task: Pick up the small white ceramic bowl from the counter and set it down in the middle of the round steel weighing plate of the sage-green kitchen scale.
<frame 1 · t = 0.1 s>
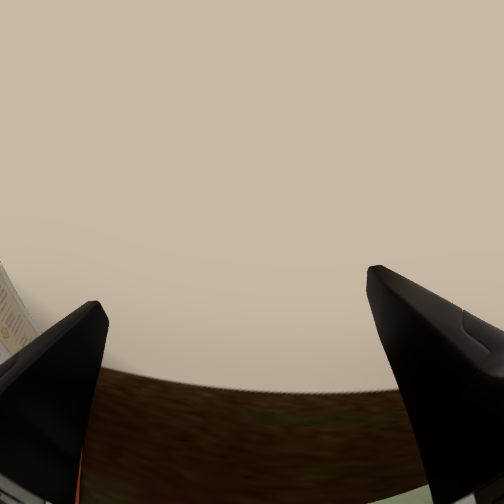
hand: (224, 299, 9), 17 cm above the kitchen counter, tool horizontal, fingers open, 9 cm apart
cracker box: (62, 451, 18), on the kitchen counter
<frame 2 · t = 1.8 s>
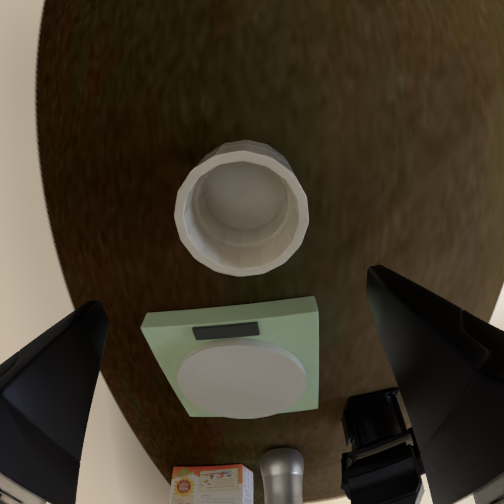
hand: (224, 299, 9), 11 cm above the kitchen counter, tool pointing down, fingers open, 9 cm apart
scale: (241, 362, 27), on the kitchen counter
bowl: (244, 190, 19), on the kitchen counter
cracker box: (213, 469, 43), on the kitchen counter
silver metal bottle: (281, 449, 37), on the kitchen counter
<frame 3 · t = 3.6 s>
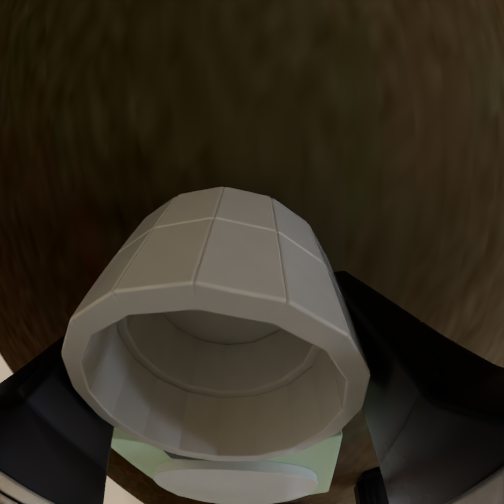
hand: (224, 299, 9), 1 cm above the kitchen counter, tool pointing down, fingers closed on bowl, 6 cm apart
scale: (235, 458, 18), on the kitchen counter
bowl: (226, 279, 10), on the kitchen counter, touching gripper
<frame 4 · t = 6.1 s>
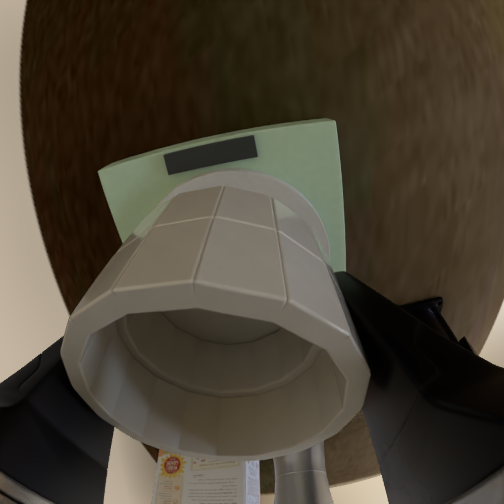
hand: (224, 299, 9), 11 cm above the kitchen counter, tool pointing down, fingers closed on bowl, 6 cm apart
scale: (234, 238, 20), on the kitchen counter
bowl: (225, 279, 10), point 10 cm above the kitchen counter, touching gripper
cracker box: (209, 443, 37), on the kitchen counter
silver metal bottle: (293, 408, 31), on the kitchen counter
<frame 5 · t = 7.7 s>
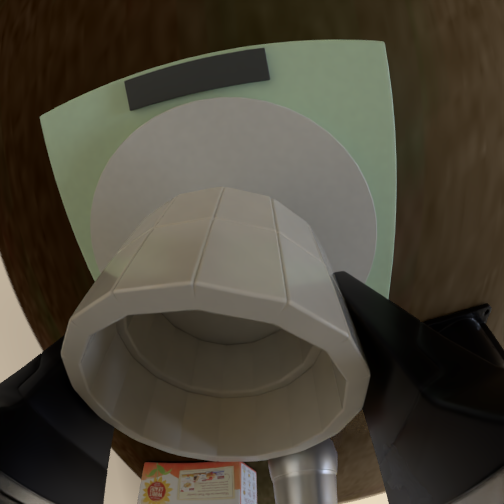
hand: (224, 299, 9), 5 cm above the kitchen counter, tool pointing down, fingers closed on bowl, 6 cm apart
scale: (231, 216, 13), on the kitchen counter
bowl: (225, 279, 10), point 4 cm above the kitchen counter, touching gripper
cracker box: (199, 467, 30), on the kitchen counter
silver metal bottle: (300, 436, 24), on the kitchen counter
when the fingers open (4 cm above the kitchen counter, at t = 8.7 s): bowl stays where it is, resting on scale.
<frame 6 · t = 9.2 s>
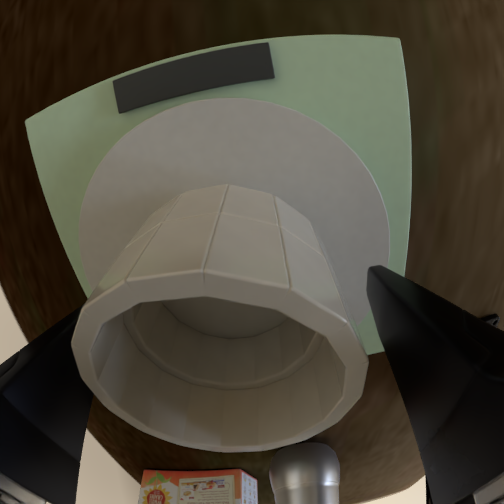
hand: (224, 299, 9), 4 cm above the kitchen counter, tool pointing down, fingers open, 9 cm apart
scale: (231, 228, 12), on the kitchen counter
bowl: (229, 274, 10), point 3 cm above the kitchen counter, touching scale
cracker box: (199, 474, 29), on the kitchen counter
silver metal bottle: (302, 446, 23), on the kitchen counter
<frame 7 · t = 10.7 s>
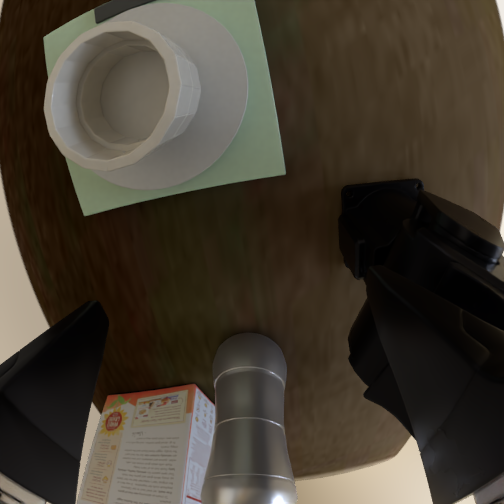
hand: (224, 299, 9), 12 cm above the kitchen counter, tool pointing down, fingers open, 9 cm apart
scale: (157, 87, 16), on the kitchen counter
bowl: (144, 94, 14), point 3 cm above the kitchen counter, touching scale
cracker box: (160, 400, 32), on the kitchen counter
silver metal bottle: (250, 347, 27), on the kitchen counter
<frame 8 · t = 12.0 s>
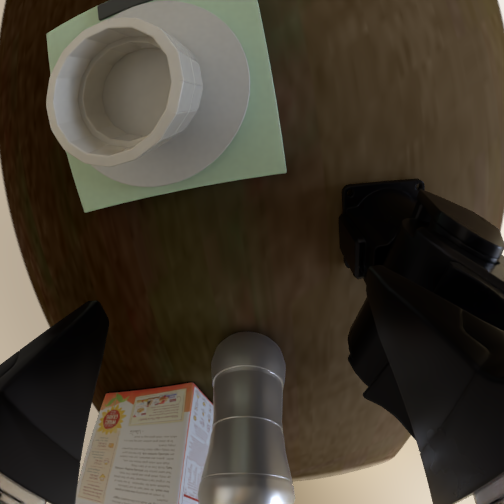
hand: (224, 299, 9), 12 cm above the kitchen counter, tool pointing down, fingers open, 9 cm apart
scale: (159, 85, 16), on the kitchen counter
bowl: (146, 91, 14), point 3 cm above the kitchen counter, touching scale
cracker box: (158, 399, 32), on the kitchen counter
silver metal bottle: (249, 346, 27), on the kitchen counter
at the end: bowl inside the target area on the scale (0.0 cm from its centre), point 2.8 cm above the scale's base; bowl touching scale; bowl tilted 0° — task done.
